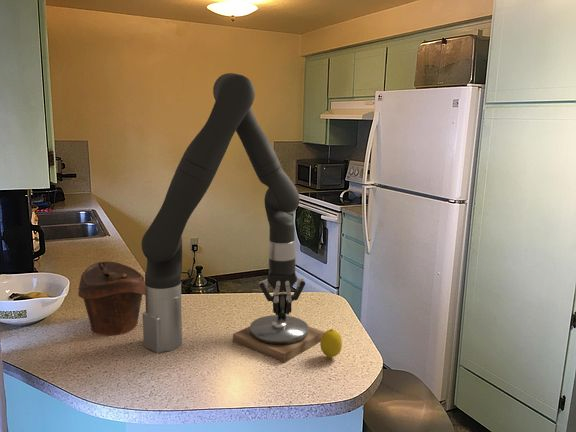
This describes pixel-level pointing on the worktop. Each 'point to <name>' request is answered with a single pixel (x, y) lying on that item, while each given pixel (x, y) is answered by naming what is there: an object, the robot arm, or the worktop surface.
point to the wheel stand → (278, 350)
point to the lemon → (331, 343)
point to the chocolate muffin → (112, 297)
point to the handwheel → (279, 326)
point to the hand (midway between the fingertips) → (282, 313)
